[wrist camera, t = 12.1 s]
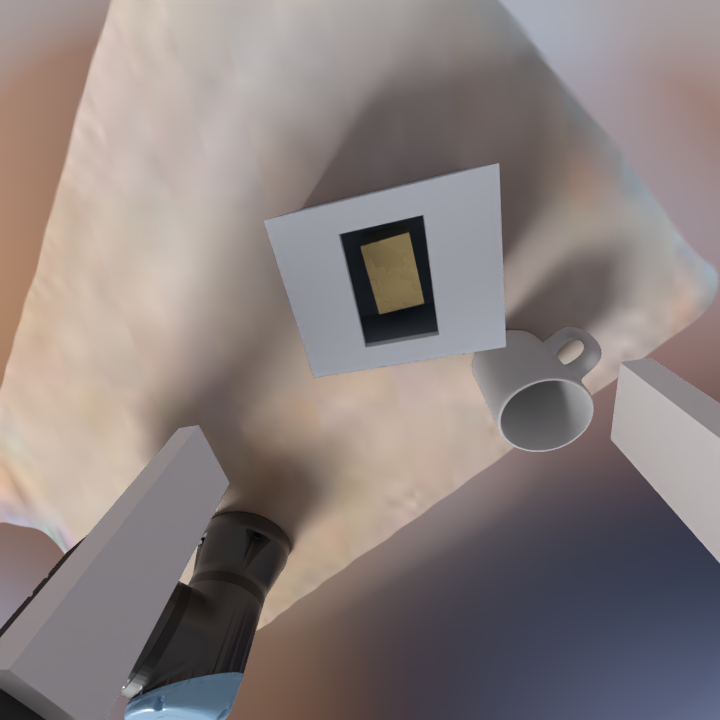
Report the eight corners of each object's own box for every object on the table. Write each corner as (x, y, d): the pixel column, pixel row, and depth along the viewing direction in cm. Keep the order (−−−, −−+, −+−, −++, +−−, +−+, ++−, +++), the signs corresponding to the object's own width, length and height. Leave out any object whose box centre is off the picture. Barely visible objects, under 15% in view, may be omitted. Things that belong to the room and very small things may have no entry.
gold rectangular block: (380, 289, 37) (379, 314, 30) (365, 233, 35) (360, 246, 28) (417, 280, 37) (424, 303, 30) (404, 222, 34) (408, 232, 27)
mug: (506, 403, 44) (540, 466, 34) (456, 367, 42) (477, 423, 32) (586, 334, 39) (653, 384, 29) (533, 289, 37) (586, 328, 27)
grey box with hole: (333, 326, 40) (314, 377, 30) (301, 209, 35) (263, 220, 24) (472, 301, 38) (506, 346, 27) (462, 169, 32) (499, 163, 22)
